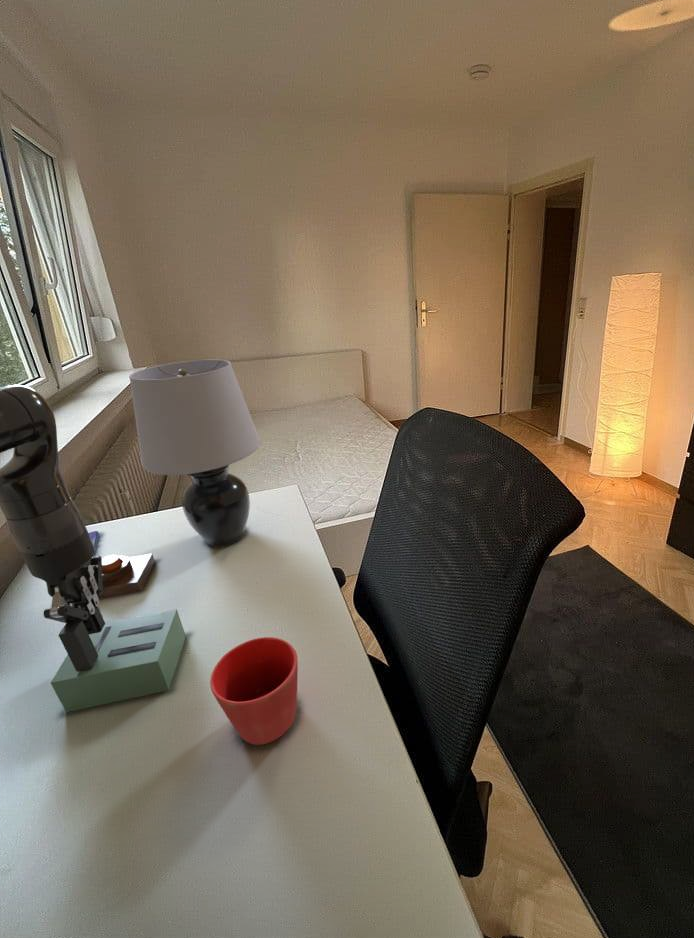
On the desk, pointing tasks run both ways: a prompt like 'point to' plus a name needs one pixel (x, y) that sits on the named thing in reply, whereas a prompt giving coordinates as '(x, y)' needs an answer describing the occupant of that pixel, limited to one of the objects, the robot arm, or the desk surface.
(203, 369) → the lamp
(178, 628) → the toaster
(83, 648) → the slide button
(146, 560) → the box
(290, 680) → the flower pot
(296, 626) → the desk surface
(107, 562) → the round button
